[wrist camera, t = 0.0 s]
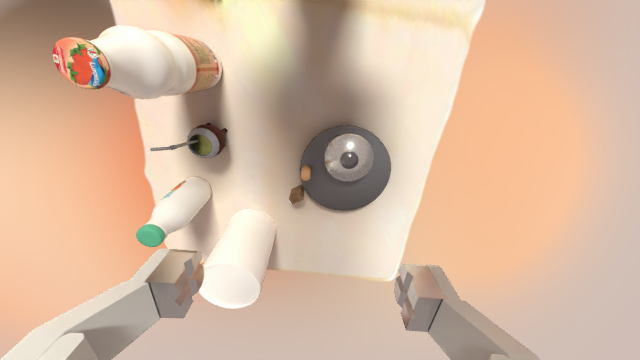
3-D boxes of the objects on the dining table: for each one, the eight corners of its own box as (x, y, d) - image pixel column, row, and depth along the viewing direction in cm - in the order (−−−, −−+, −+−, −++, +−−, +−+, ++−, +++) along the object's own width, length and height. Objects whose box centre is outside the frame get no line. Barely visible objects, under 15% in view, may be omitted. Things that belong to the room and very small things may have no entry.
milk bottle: (202, 171, 60) (151, 216, 42) (218, 196, 64) (177, 248, 46) (176, 181, 62) (117, 228, 44) (193, 204, 65) (144, 258, 47)
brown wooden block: (301, 185, 62) (299, 194, 57) (304, 189, 63) (303, 199, 58) (291, 189, 63) (289, 199, 58) (294, 194, 63) (292, 204, 59)
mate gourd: (236, 141, 57) (210, 165, 43) (210, 155, 58) (177, 182, 45) (217, 113, 54) (182, 129, 40) (190, 128, 56) (148, 149, 42)
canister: (271, 207, 65) (252, 261, 47) (280, 245, 71) (266, 306, 53) (223, 211, 66) (186, 266, 48) (235, 248, 71) (207, 310, 53)
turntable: (302, 122, 54) (300, 127, 49) (398, 129, 54) (405, 136, 50) (299, 204, 63) (297, 216, 58) (380, 210, 64) (385, 222, 59)
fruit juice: (221, 93, 52) (129, 120, 27) (177, 82, 51) (38, 98, 26) (225, 46, 48) (120, 25, 23) (177, 33, 47) (13, -5, 22)
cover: (326, 129, 53) (326, 134, 50) (375, 133, 53) (378, 138, 50) (322, 174, 58) (322, 181, 54) (367, 177, 58) (369, 184, 55)
